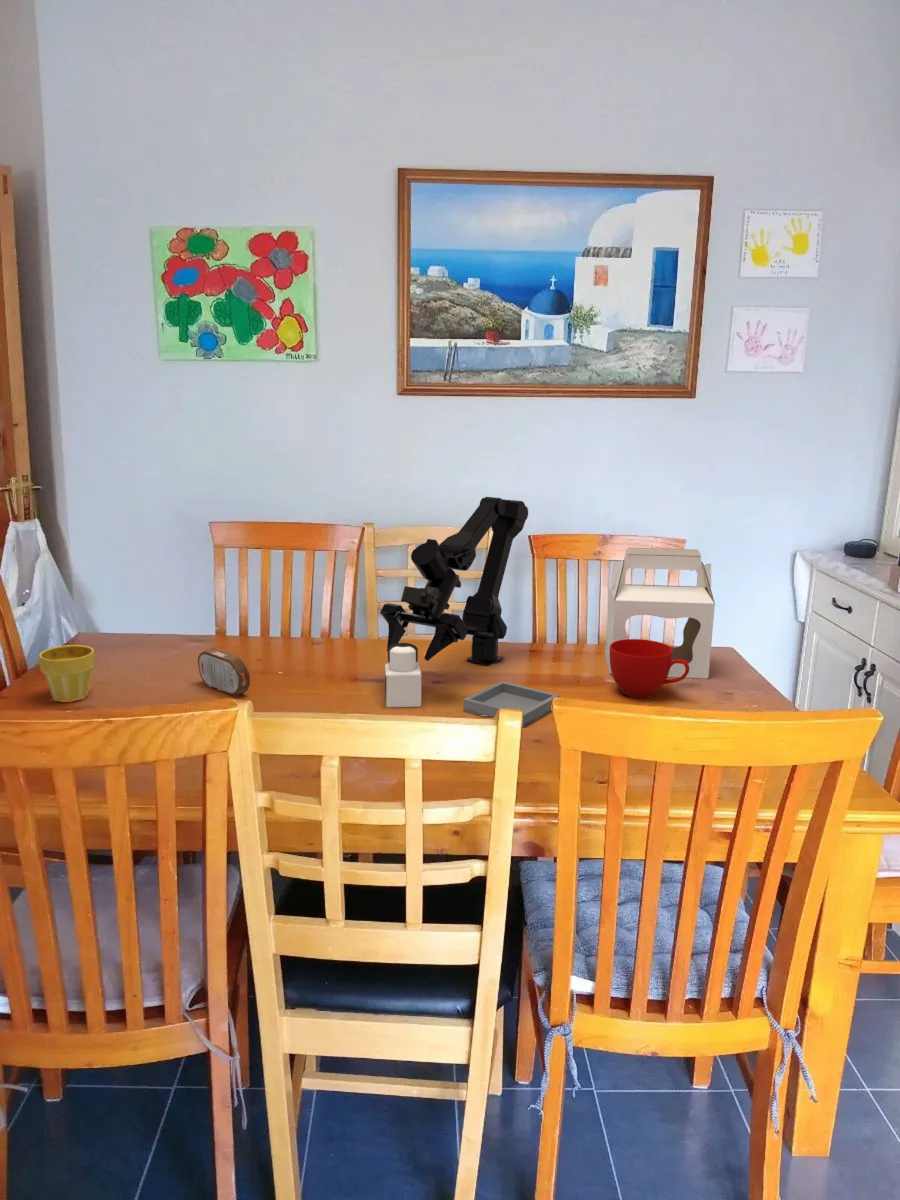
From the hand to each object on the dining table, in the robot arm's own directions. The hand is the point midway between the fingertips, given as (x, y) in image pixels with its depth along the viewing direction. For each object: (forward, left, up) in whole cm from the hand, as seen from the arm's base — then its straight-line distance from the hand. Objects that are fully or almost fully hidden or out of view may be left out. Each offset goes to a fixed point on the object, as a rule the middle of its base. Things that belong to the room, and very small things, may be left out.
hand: (406, 655), depth 179 cm
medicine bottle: (+1, 0, -10) cm, 10 cm away
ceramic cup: (-34, +38, -10) cm, 52 cm away
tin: (+19, -34, -10) cm, 40 cm away
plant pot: (+41, -55, -10) cm, 69 cm away
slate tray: (-9, +20, -10) cm, 24 cm away
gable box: (-52, +32, -10) cm, 62 cm away
